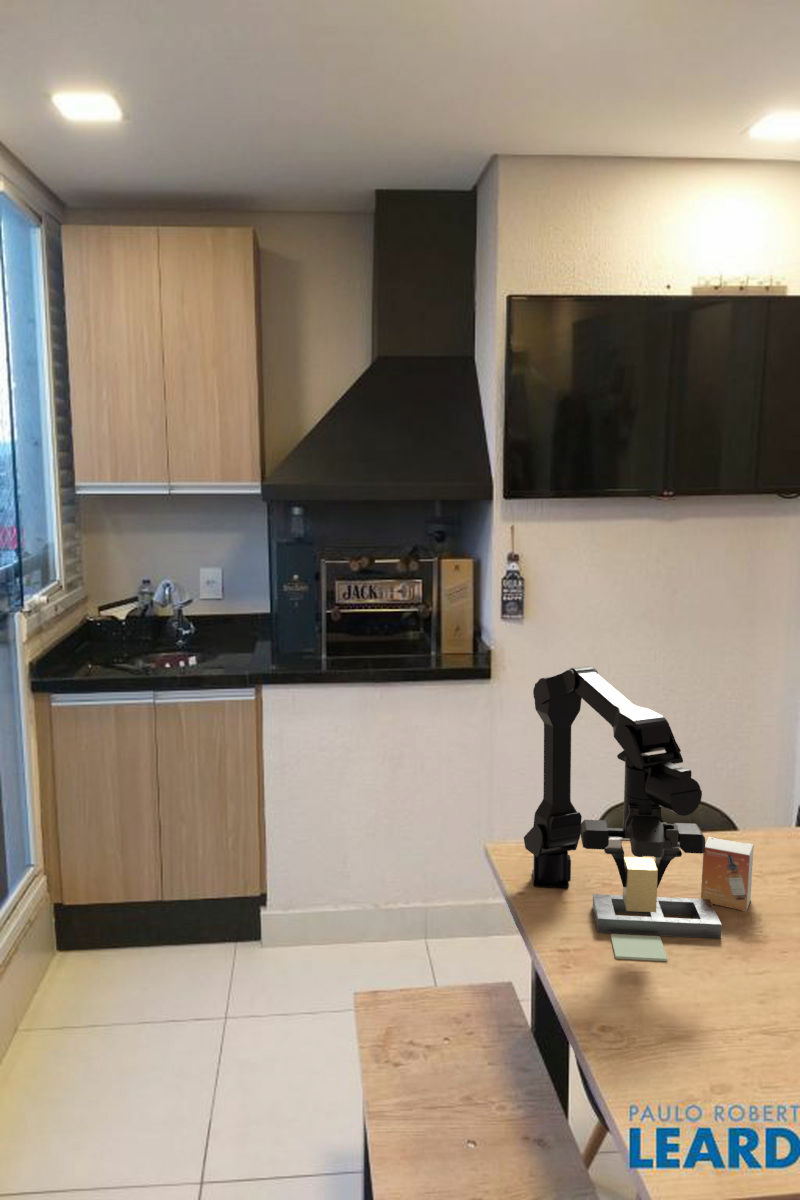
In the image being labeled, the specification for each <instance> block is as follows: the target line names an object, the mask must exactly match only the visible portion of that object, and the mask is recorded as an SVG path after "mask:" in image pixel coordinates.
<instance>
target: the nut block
mask: <svg viewBox="0 0 800 1200" xmlns="http://www.w3.org/2000/svg"><path fill="white" fill-rule="evenodd" d="M624 863H625V873H626V887H623V886H622V895H623V900H624V903H625V907H626V911H640V912H656V905H657V897H658V888H657V876H658V870H657V867H656V865H655V858H654V857H637V856H624Z"/></svg>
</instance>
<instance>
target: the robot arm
mask: <svg viewBox="0 0 800 1200" xmlns="http://www.w3.org/2000/svg"><path fill="white" fill-rule="evenodd" d="M532 691H533V693H532V695H533V699H534V709H535V711H536V712H537V714H538V716H539V718H540V719H541V721H542V722H543V797H542V798H543V799H542V801H541V802H540V804H539V805H538V807H537V809H536V810H535V812H534V817H533V826H532V827H531V829H529V831H528V832H527V833H526V834H525V836H523V842H524V848H525V849H526V850H527V851H529V852H530V854H532V855H533V858H532V859H533V862H532V864H533V869H532V870H531V871H532V884H533V887H537V888H554V889H555V888H557V889H559V888H560V889H568V888H569V885H570V884H569V882H570V881H571V875H572V874H571V873H572V860H571V855H570V854H569V852H570V851H576V850H577V848H578V844H579V841H580V838H581V843H582V844H581V845H582V848H584V849H586V850H604V853H605V854H606V855H610V856H612V858H613V860H614V862H615V864H616V867H617V870H618V874H619V877H620V882H621V884H622V888H623V887H626V873H625V863H624V857H625V851H624V848H623V845H622V844H623V842H630V843H629V844H630V849H631V854H632V855H633V857H641V858H644V857H652V858H654V862H655V865H656V867H657V870H658V876H657V889H658V888H659V886H660V883H661V881H662V879H663V876H664V874H665V872H666V870H667V868H668V866H669V864H670V862H671V861H672V860H674V859H675V858H681V857H682V855H683V852H684V853H685V854H700V855H701V854H702V855H703V853H705V843H706V838H705V835H704V833H703V832H702V830H701V828H700V826H698V824H697V823H688V822H687V823H686V822H685V823H684V822H674V823H667V822H664V820H663V816H662V807H663V808H665V809H666V810H668V811H671V812H672V813H674V814H676V815H678V816H682V817H685V816H689V815H691V814H692V813H694V812H695V811H696V810H697V809H698V807H699V806H700V803H701V801H702V797H703V791H702V789H701V786H700V784H699V782H698V781H697V780H695V779H694V778H692V770H691V769H689V768H686V767H682V766H679V765H677V764H683V762H684V759H683V756H682V754H681V753H682V752H681V751H682V750H681V748H680V746H679V744H678V743H677V741H676V738H675V736H674V733H673V731H672V728H671V726H670V723H669V721H668V720H667V719H666V717H664V716H663V715H662V714H661V713H659V712H656V711H655V710H652V709H651V708H647V707H644V706H639V705H637V704H634V703H633V702H631V701H630V700H629V699H628V698H627V697H625V696H624V695H623V694H622V693H621V692H620V691H619V690H617V688H615V687H614V686H612V685H611V684H610V683H609V682H608V681H606V680H605V679H604V678H603V677H602V676H601V675H600V674H599V672H598V670H597V669H596V668H595V667H592V666H580V667H571V668H569V669H567V670H565V671H564V672H562V673H559V674H556V675H553V676H550V677H549V676H548V677H541V678H539V679H538V680H537V682H536V683H534V687H533V690H532ZM582 700H583V701H584V702H585V703H587V704H588V705H589V706H590V707H591V708H592V709H593V710H594V711H595V712H596V713H598V715H599V716H601V717H602V718H603V719H604V720H605V721H606V722H607V723H608V724H609V725H610V726H611V727H612V730H613V737H614V739H615V741H617V744H618V745H619V746H620V747H621V748H622V751H621V752H619V753H618V754H617V756H616V757H617V759H618V760H620V761H622V762H624V786H623V787H624V789H623V793H624V794H623V819H622V820H623V822H622V828H621V827H618V828H617V827H608V825H607V822H606V820H603V819H582V818H583V816H582V814H581V812H580V811H577V809H576V808H575V806H574V805H573V803H572V802H571V795H572V794H571V793H572V792H571V791H572V790H571V787H572V782H571V781H572V779H571V777H572V725H573V724H574V721H575V720H576V719H577V717H578V715H579V713H580V711H581V706H582ZM661 751H665V752H661ZM654 752H660V753H654ZM648 753H654V754H648Z"/></svg>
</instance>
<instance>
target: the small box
mask: <svg viewBox="0 0 800 1200" xmlns="http://www.w3.org/2000/svg"><path fill="white" fill-rule="evenodd" d="M754 846H755V845H754V844H753V843H747V842H746V843H745V842H741V841H740V842H739V841H734V840H727V839H721V838H716V837H713V836H708V837H707V838H706V840H705V853H702V867H701V868H702V869H701V870H702V871H701V885H700V886H701V888H700V899H710V901H711V903H712V905H717V906H721V907H727V908H730V909H735V910H740V911H742V912H747V910H748V908H749V905H750V902H751V895H752V881H753V880H752V879H753V865H754V863H753V861H754Z"/></svg>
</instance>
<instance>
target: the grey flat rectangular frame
mask: <svg viewBox="0 0 800 1200" xmlns="http://www.w3.org/2000/svg"><path fill="white" fill-rule="evenodd" d="M592 909H593V910H592V911H593V915H594V919H595V920H594V921H595V925H596V930H597V933H599V934H600V933H601V934H620V935H640V936H660V937H676V938H677V937H679V938H696V939H697V938H698V939H719V940H721V939H722V929H723V928H722V922H721V920H720V918H719V916H718V914H717V912H716V909H715V907H714V904H712V903H711V901H710V899H701V898H692V897H691V898H690V897H669V896H657V905H656V912H640V911H626V907H625V903H624V900H623V894H622V895H621V894H603V893H602V894H601V893H600V894H599V893H593V894H592ZM616 913H621V915H619V914H618V915H617V914H616ZM622 914H638V916H637V915H622ZM639 914H642V915H643V914H644V915H645V916H642V915H641V916H639ZM664 915H666V916H667V915H668V916H687V917H689V916H690V917H693V918H682V917H680V918H679V917H665V916H664Z"/></svg>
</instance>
